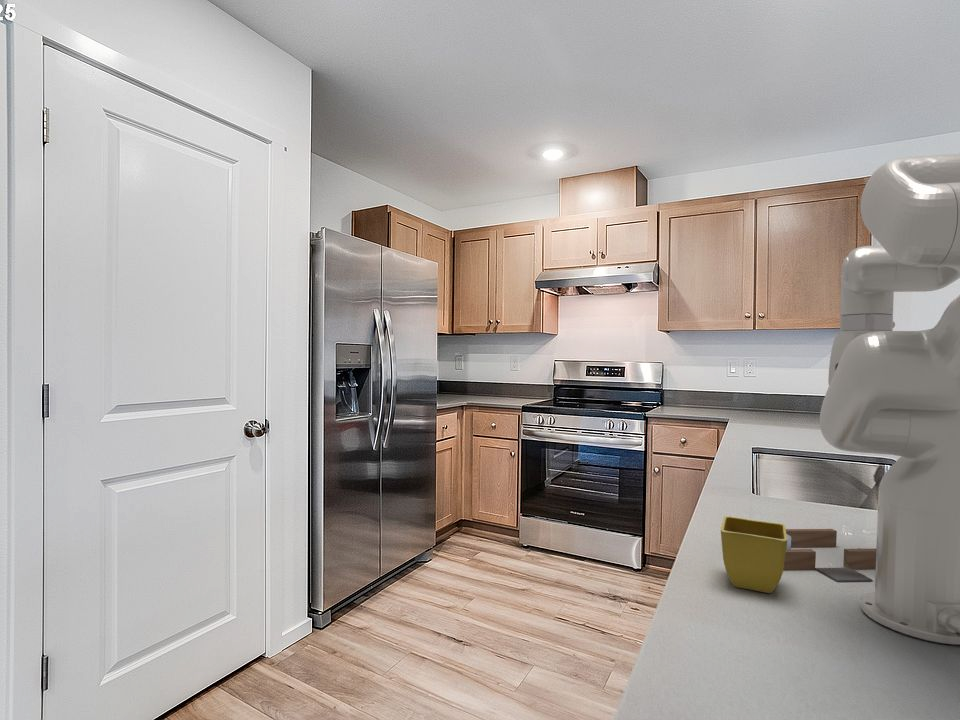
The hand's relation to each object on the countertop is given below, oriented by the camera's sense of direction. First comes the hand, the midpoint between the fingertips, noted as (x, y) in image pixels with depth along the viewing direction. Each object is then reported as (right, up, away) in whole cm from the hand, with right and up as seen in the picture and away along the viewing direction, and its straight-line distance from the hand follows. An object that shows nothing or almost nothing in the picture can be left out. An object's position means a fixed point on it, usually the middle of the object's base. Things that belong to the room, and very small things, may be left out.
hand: (862, 431), depth 94 cm
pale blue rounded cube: (-16, -22, +1) cm, 27 cm away
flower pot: (-25, -22, -11) cm, 36 cm away
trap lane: (-10, -22, +1) cm, 24 cm away
